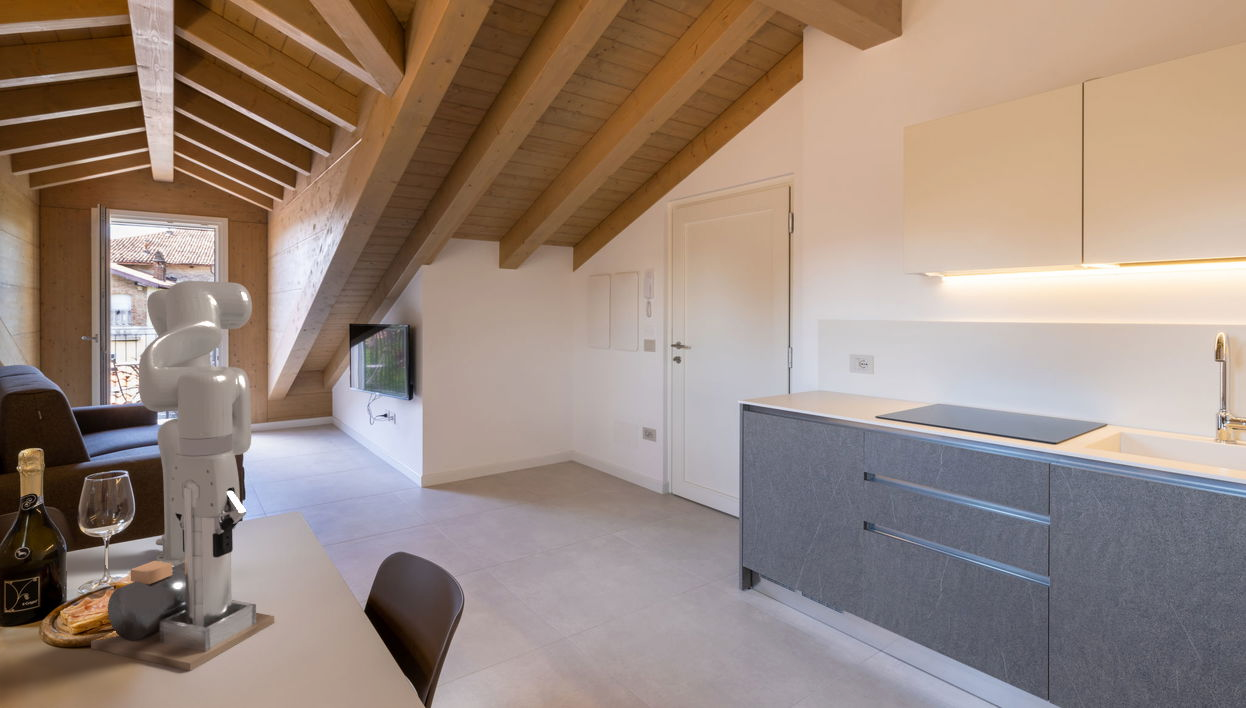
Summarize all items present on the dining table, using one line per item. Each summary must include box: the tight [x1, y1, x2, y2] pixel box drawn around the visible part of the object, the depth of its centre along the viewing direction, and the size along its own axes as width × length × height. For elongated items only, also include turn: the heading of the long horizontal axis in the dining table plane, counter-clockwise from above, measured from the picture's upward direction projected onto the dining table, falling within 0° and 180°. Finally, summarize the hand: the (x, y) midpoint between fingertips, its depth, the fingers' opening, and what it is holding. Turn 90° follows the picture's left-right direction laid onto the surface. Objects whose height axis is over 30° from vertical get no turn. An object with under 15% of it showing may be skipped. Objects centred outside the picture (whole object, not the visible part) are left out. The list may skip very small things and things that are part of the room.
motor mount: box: [90, 560, 275, 672], centre depth 106 cm, size 21×16×12 cm
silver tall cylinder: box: [184, 483, 233, 628], centre depth 105 cm, size 6×6×25 cm
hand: (208, 550), depth 105 cm, fingers closed on silver tall cylinder, 5 cm apart
